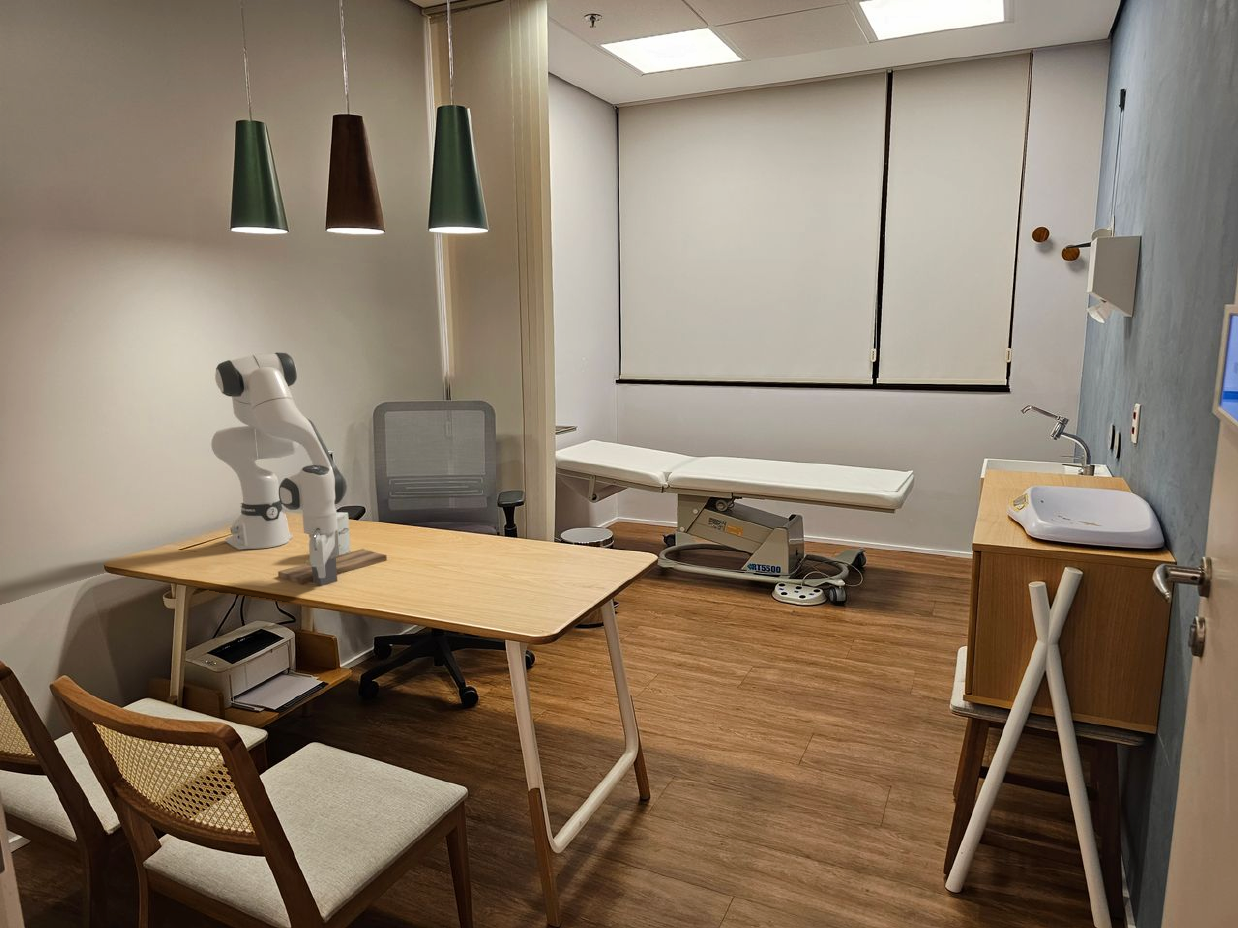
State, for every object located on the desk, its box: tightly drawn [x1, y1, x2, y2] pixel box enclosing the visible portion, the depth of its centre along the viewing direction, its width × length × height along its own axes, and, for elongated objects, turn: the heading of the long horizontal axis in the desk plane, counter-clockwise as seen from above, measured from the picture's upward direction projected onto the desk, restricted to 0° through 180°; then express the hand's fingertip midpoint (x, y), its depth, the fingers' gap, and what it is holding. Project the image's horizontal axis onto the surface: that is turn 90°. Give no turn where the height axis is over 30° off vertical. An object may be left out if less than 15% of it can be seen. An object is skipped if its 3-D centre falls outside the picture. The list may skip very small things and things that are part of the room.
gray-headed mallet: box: [304, 556, 338, 587], centre depth 225 cm, size 10×5×7 cm, turn 52°
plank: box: [277, 548, 388, 586], centre depth 237 cm, size 12×28×2 cm, turn 142°
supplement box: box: [330, 511, 352, 556], centre depth 251 cm, size 7×7×13 cm
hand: (324, 573), depth 224 cm, fingers closed on gray-headed mallet, 6 cm apart
